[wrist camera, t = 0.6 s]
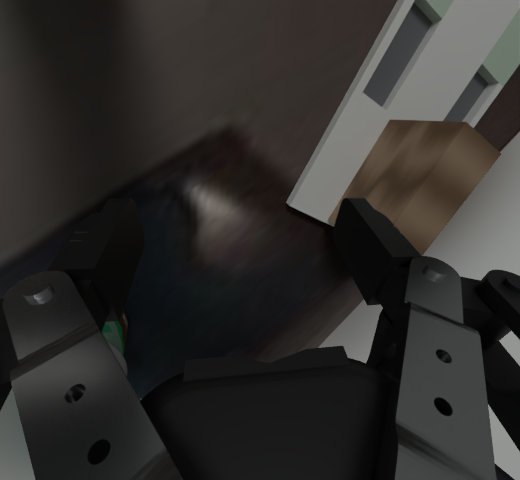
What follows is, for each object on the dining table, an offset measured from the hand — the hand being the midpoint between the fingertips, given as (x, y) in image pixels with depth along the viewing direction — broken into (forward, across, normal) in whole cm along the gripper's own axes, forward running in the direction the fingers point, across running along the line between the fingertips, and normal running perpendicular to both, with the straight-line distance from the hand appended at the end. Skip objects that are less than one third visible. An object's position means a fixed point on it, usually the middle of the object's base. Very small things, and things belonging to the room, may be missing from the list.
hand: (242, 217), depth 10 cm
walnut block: (+21, -19, +9) cm, 30 cm away
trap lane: (+25, -24, -2) cm, 35 cm away
